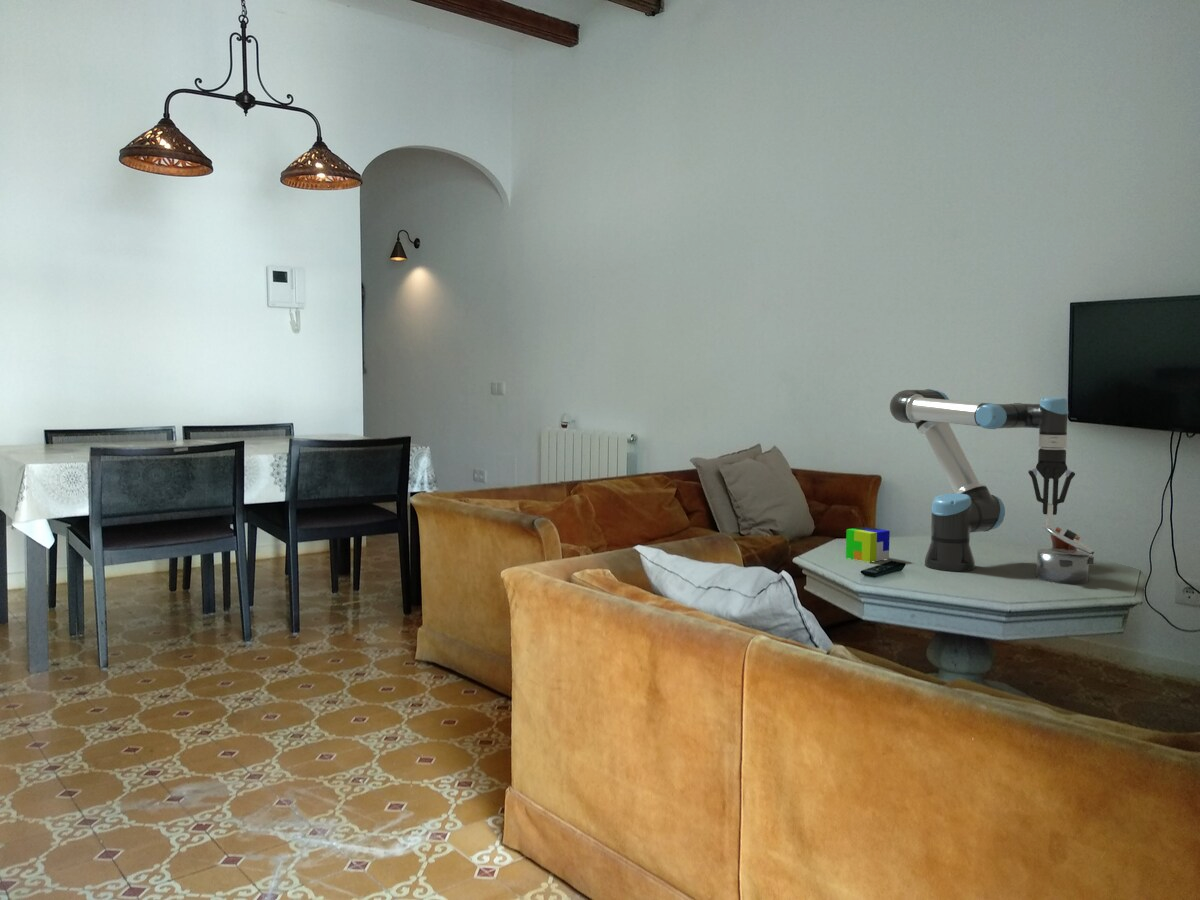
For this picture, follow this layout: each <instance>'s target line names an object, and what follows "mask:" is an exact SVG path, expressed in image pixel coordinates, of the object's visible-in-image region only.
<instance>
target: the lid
mask: <svg viewBox="0 0 1200 900" xmlns="http://www.w3.org/2000/svg"><path fill="white" fill-rule="evenodd" d="M1042 529H1043V530H1045V531H1046V532H1048V533H1049V534H1052V535H1054V536H1055V537H1057V538H1059V539H1061V540H1062V541H1064V542H1066V543H1068V544H1070V545H1072V546H1073V547H1075V548H1077V550H1078V551H1081V552H1084V553H1087V554H1089V555H1094V553H1095V551H1094V550H1093V549H1092V548H1091V547H1089V546H1088V545H1087V544H1085V543H1083V542H1081V541H1080V540H1079V541H1078V540H1076V539H1075V537H1076V535H1078V534H1077V533H1076V532H1074V531H1072V530H1070V529H1068V528H1067V529H1066V531H1065V532H1063V531H1062V528H1060V527H1057V526H1056V528H1055V527H1053V526H1047V525H1046V523H1044V524H1043V526H1042Z"/></svg>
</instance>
